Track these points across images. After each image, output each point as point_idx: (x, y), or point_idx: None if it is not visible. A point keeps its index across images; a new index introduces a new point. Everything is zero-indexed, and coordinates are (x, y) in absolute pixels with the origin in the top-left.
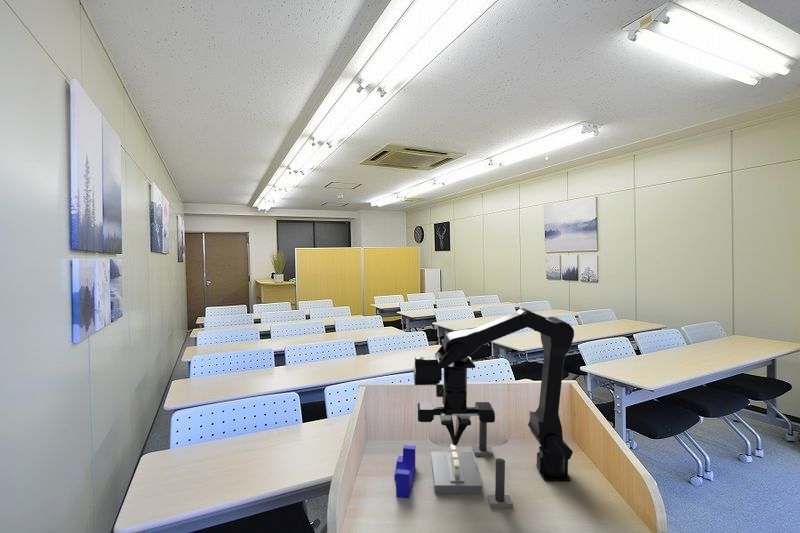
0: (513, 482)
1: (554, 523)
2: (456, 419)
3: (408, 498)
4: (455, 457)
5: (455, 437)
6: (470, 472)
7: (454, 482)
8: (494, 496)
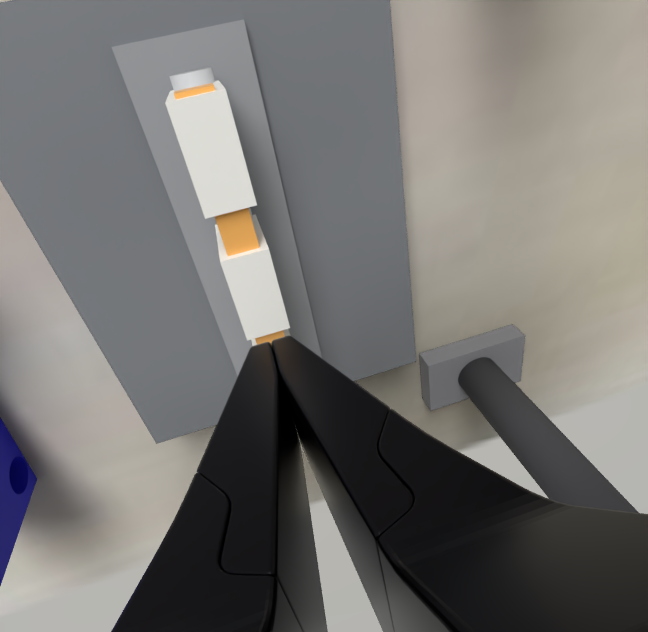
0: (575, 197)
1: (615, 386)
2: (409, 590)
3: (35, 480)
4: (270, 331)
5: (304, 442)
6: (360, 270)
7: None
8: (458, 368)
